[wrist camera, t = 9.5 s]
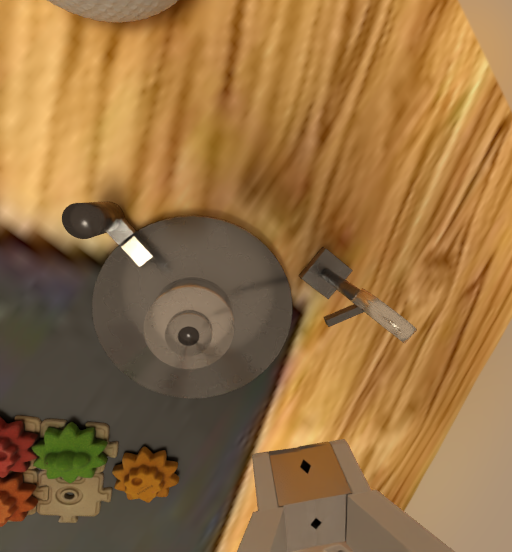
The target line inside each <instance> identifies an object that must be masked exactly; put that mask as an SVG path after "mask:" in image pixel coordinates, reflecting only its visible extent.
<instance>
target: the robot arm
mask: <svg viewBox="0 0 512 552" xmlns="http://www.w3.org/2000/svg"><path fill="white" fill-rule="evenodd" d="M252 459H253V469H254V478H255V487H256V496H257V506H258V511H256V512H253V514H252V517H251V519H250V521H249V524H248V526H247V529H246V531H245V534H244V536H243V538H242V541H241V543H240V546H239V548H238V550H237V552H454V551H453V550H452V549H451V548H449V547H448V546H447V545H446V544H444V543H443V542H442V541H441V540H439V539H438V538H437V537H435V536H434V535H433V534H432V533H430V532H429V531H428V530H427V529H425V528H424V527H423V526H422V525H420V524H419V523H418V522H417V521H415V520H414V519H413V518H411V517H410V516H409V515H407V514H406V513H405V512H404V511H403V510H401V509H400V508H399V507H398V506H396V505H395V504H394V503H392V502H391V501H390V500H389V499H387V498H386V497H385V496H384V495H382V494H381V493H380V492H379V491H377V490H371V489H370V487H369V485H368V483H367V481H366V479H365V477H364V475H363V473H362V471H361V469H360V467H359V465H358V463H357V461H356V459H355V457H354V455H353V453H352V451H351V449H350V447H349V445H348V443H347V442H346V441H345V440H344V439H342V440H336V441H330V442H322V443H317V444H311V445H306V446H300V447H298V448H291V449H284V450H276V451H269V452H263V453H256V454H252ZM345 541H346V542H345Z"/></svg>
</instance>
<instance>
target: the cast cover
mask: <svg viewBox="0 0 512 552" xmlns="http://www.w3.org/2000/svg"><path fill="white" fill-rule="evenodd" d="M233 336H234V320H233V311H232V305H231V302H230V300H229V298H228V296H227V295H226V293H225V292H224V291H223V290H222V289H221V288H220V287H219V286H218V285H216V284H215V283H213V282H211V281H209V280H206V279H203V278H196V277H188V278H182V279H179V280H176V281H174V282H172V283H170V284H169V285H167V286H166V287H165V288H163V290H162V291H161V292H160V293H159V294H158V296H157V298H156V299H155V301H154V302H153V304H152V306H151V307H150V309H149V310H148V312H147V314H146V317H145V320H144V337H145V340H146V343H147V345H148V347H149V349H150V350H151V352H152V353H153V354H154V355H155V356H156V357H157V358H158V359H159V360H161V361H162V362H164V363H166V364H168V365H170V366H173V367H176V368H181V369H197V368H202V367H205V366H208V365H210V364H212V363H214V362H216V361H217V360H218V359H220V358H221V357H222V356H223V355H224V354H225V353H226V351H227V350H228V349H229V347H230V345H231V343H232V340H233Z"/></svg>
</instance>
